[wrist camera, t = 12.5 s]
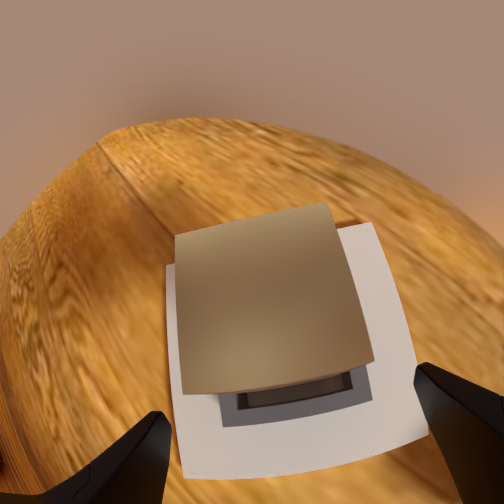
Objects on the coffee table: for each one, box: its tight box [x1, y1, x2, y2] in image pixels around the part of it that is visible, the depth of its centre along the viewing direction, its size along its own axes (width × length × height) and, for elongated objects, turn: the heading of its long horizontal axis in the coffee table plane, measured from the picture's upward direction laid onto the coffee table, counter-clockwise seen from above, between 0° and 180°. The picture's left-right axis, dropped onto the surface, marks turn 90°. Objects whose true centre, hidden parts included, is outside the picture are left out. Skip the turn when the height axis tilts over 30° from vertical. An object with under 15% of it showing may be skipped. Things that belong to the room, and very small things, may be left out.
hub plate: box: [166, 222, 429, 479], centre depth 17 cm, size 18×18×4 cm
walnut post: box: [175, 202, 375, 395], centre depth 12 cm, size 5×5×13 cm
